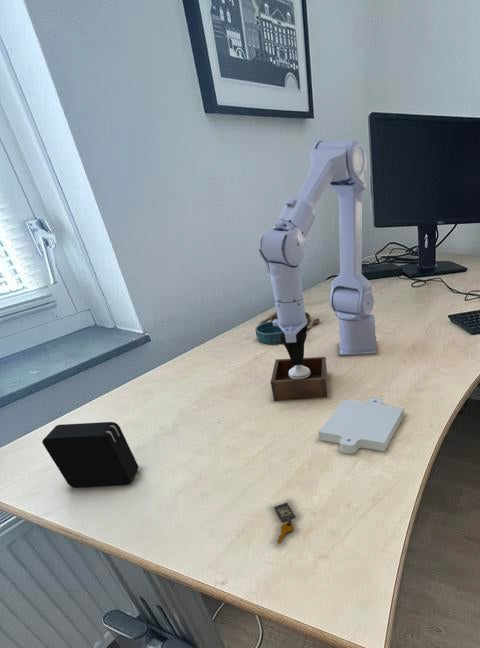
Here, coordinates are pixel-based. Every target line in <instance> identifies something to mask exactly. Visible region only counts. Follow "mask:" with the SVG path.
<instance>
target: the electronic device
mask: <svg viewBox="0 0 480 648" xmlns="http://www.w3.org/2000/svg"><path fill="white" fill-rule="evenodd" d="M41 443H42V445H43V447H44V448H45V450H46V451H47V453H48V454H49V457H51V460H52V461H53V462H54V464H55V466H56V467H57V469H58V470H59V472H60V474H61V475H62V477H63V478H64V480H65V482H66V483H67V486H69V487H70V488H74V489H83V488H85V489H86V488H98V487H101V488H103V487H115V486H116V487H117V486H118V487H119V486H128V485H130V483H131V482H132V481H133V479H134V477H135V475H136V473H137V471H138V470H139V464H138V463H137V459H136V458H135V456H134V453H133V452H132V450H131V448H130V445H129V443H128V442H127V439H126V438H125V435H124V432H123V430H122V429H121V426H120V425H119V424H118V423H117V422H114V421H100V422H85V423H83V422H82V423H81V422H80V423H65V424H63V423H62V424H57V425H55V426H54V428H53V429H51V431H50V432H49V433H48V434H46V436H45V437H44V438H43V439H42V441H41Z"/></svg>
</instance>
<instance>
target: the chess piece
mask: <svg viewBox="0 0 480 648" xmlns="http://www.w3.org/2000/svg"><path fill="white" fill-rule="evenodd" d="M310 374H311V372H310V369H309V368H307V367H305V366H303V365H295V366H294V367H293V368H291V369H290V370H289V377H291V378H293V379H303V378H306V377H308V376H309V375H310Z"/></svg>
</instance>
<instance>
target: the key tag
mask: <svg viewBox="0 0 480 648" xmlns="http://www.w3.org/2000/svg"><path fill="white" fill-rule="evenodd" d="M273 509H274V510H275V512H276V514H277V516H278V518H279V520H280V521H281V522H285V521H287V522H285V523H283V524H282V525H281V526H280V530H281V531H280V534H279V536H278V538H277V543H279V544H280V543H281V542H282V540H283V538H284V537H285V535H288V533H290V532H291V531H292V530H293V529H294V525H293V524H292V519H293V518H296V516H295V513H294V512H293V510H292V508H291V507H290V505H289V503H288V502H284V503H282V504H279V505H275V506H274V507H273Z"/></svg>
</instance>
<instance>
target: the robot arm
mask: <svg viewBox="0 0 480 648" xmlns="http://www.w3.org/2000/svg"><path fill="white" fill-rule="evenodd" d="M367 157H368V156H367V154H366V151H365V150H364V147H363V145H362V143H361V142H360V141H359V140H352V141H349V140H348V141H330V140H329V141H324V140H317V141H316V142H315V143H314V145H313V147H312V149H311V151H310V153H309V160H310V167H309V170H308V172H307V174H306V177H305V179H304V181H303V184H302V186H301V188H300V191H299V193H298V196H297V195H296V196H291V197H289V198H287V199H286V201H285V205H284V208H283V209H282V211H281V213H280V215H279V216H278V219H277V220H276V222H275V223H274V226H273V227H272V229H269V230H266V231H265V232H264V233H263V234H262V235H261V238H260V241H259V249H258V252H259V255H260V258H261V259H262V261H263V262H264V264H265V267H266V271H267V272H268V274H269V275H270V280H271V286H272V292H273V293H272V294H273V299H274V304H275V312H277V317H278V319H275V320H273V326H279V327H280V329H281V331H282V333H280V334H279V338H280V340H281V342H282V343H281V344H282V345H283V346H284V347H285V350H286V351H287V354H288V356H289V359H291V361H292V364H293V365H303V358H305V344H306V343H305V342H306V340H307V337H308V333H307V332H308V330H309V328H308V326H309V325H308V323H307V318H306V315H305V312H306V308H305V300H304V293H303V286H302V278H301V270H300V264H301V263H302V261H303V259H304V254H305V246H306V238H307V236H308V234H309V232H310V230H311V228H312V226H313V224H314V223H315V220H316V212H315V208H316V206H317V204H318V203H319V201H320V200H321V198H322V197H323V195H324V193H325V192H326V191H327V189H328V188H331V189H332V190H334V191H335V193H336V195H337V196H338V205H339V206H338V210H339V211H338V214H339V215H338V217H339V218H338V219H339V223H338V224H339V274H338V275H337V276H336V277H335V278H334V279H332V281H331V290H330V294H329V305H330V308H331V309H332V311H333V312H335V316H336V317H338V328H339V329H338V330H339V339H340V340H339V341H340V342H339V343H338V346H339V350H338V351H339V356H355V355H356V356H357V355H374V354H377V336H376V320H375V319H376V318H375V315H374V314H372V311H373V308H374V300H375V299H374V296H373V288H372V287H373V285H372V283H371V282H370V280H368V278H366V277H365V275H363V273H362V272H363V271H362V268H363V267H362V266H363V265H362V262H363V261H362V260H363V197H364V196H363V193H364V190H366V189H367V167H368V165H367V164H368V161H367V160H368V159H367Z"/></svg>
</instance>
